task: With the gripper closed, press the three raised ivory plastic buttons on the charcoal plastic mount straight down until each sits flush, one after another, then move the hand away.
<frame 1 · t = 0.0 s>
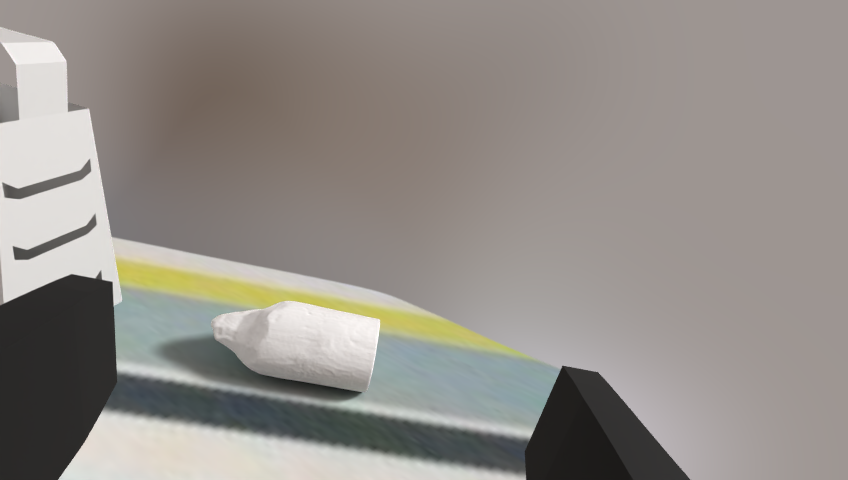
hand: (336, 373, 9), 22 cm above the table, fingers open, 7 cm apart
grater: (10, 313, 42), on the table
roll: (288, 372, 43), on the table
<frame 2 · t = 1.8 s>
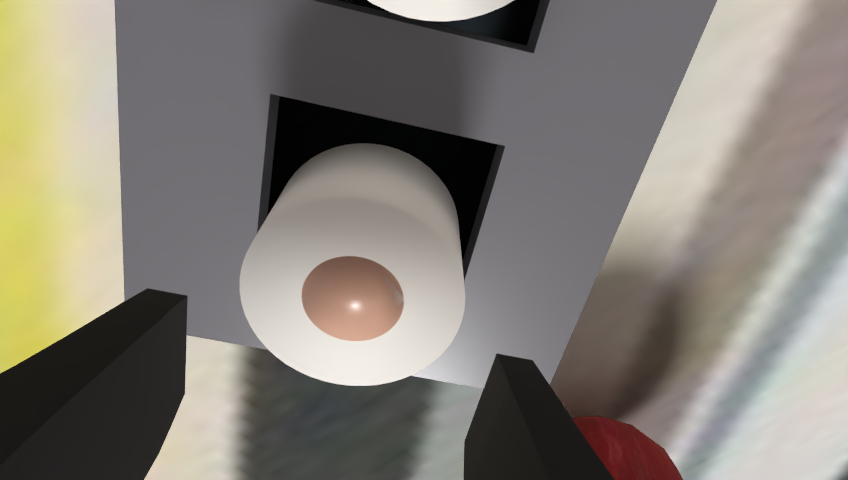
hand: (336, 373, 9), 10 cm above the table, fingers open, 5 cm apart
button 1: (361, 261, 12), point 6 cm above the table, slide at 2.5 cm
onion: (577, 422, 23), on the table
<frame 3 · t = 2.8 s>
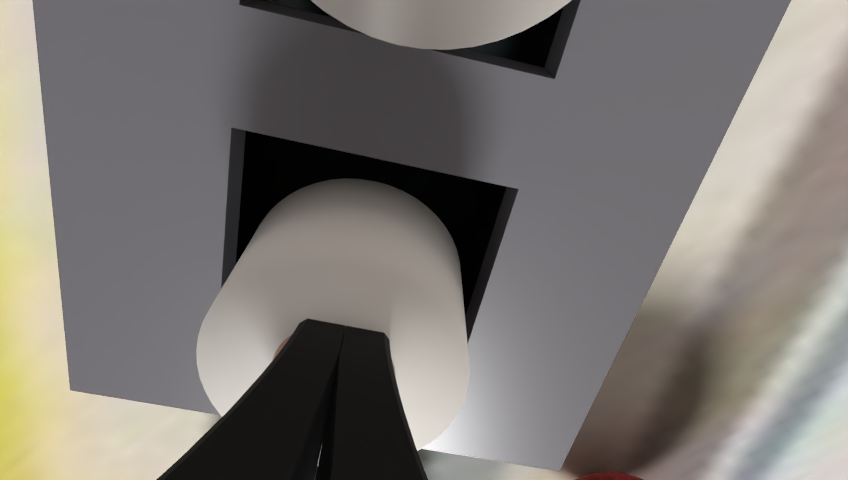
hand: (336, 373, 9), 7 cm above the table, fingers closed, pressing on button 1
button 1: (346, 319, 10), point 6 cm above the table, slide at 2.1 cm, touching gripper
onion: (591, 472, 21), on the table
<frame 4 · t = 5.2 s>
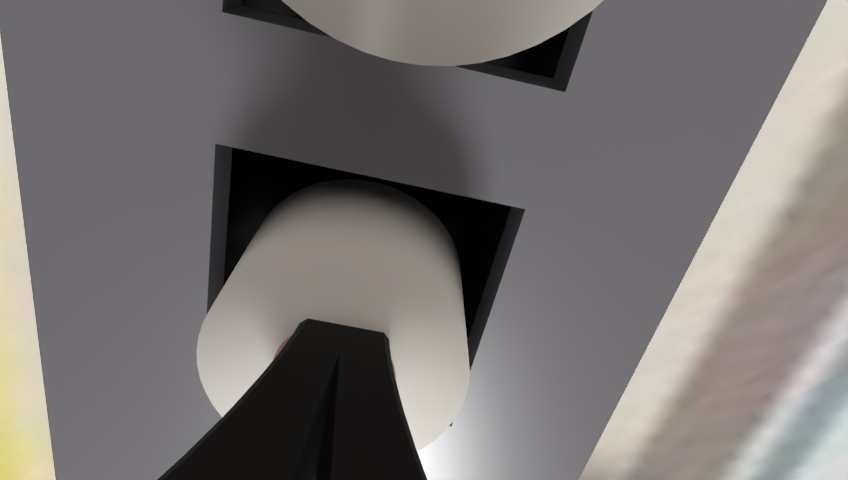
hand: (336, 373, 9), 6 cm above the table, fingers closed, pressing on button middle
button middle: (346, 319, 10), point 5 cm above the table, slide at 1.2 cm, touching gripper
mount: (371, 207, 15), on the table
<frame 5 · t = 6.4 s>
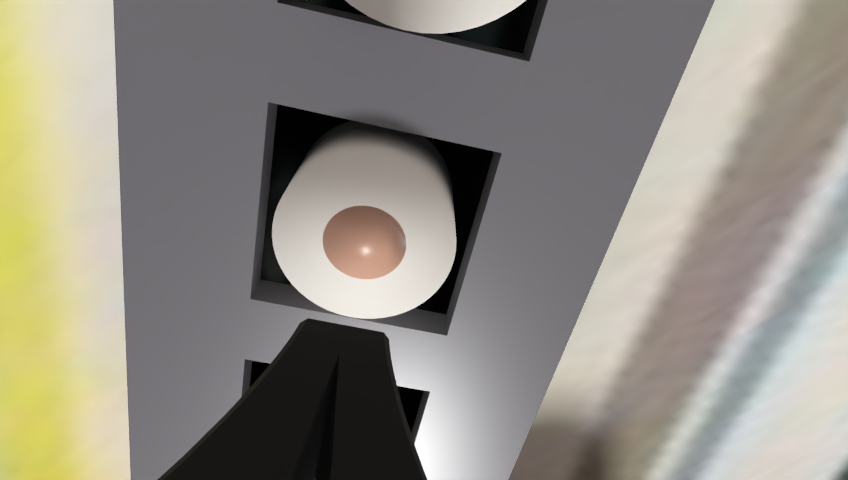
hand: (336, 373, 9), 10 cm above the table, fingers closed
button middle: (370, 216, 15), point 4 cm above the table, slide at -0.2 cm
mount: (381, 167, 18), on the table
button 1: (330, 420, 18), point 4 cm above the table, slide at -0.2 cm
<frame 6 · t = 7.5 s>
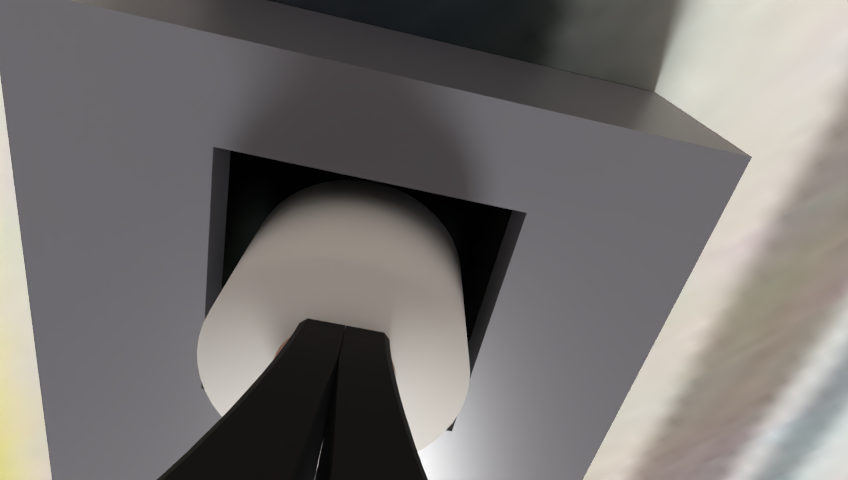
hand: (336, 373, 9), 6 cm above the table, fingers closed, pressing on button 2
button 2: (346, 320, 10), point 5 cm above the table, slide at 1.1 cm, touching gripper
mount: (330, 414, 18), on the table
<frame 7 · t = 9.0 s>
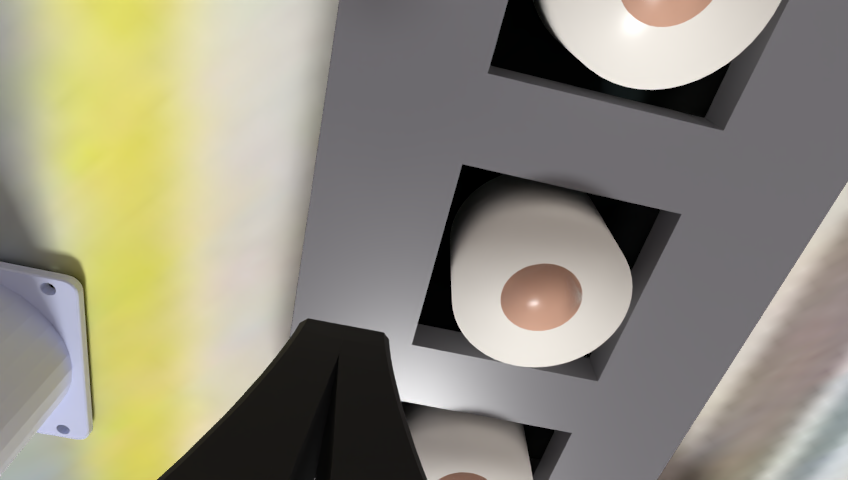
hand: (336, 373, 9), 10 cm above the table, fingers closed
button middle: (532, 266, 15), point 4 cm above the table, slide at -0.2 cm
mount: (515, 209, 18), on the table
button 1: (461, 455, 19), point 4 cm above the table, slide at -0.2 cm
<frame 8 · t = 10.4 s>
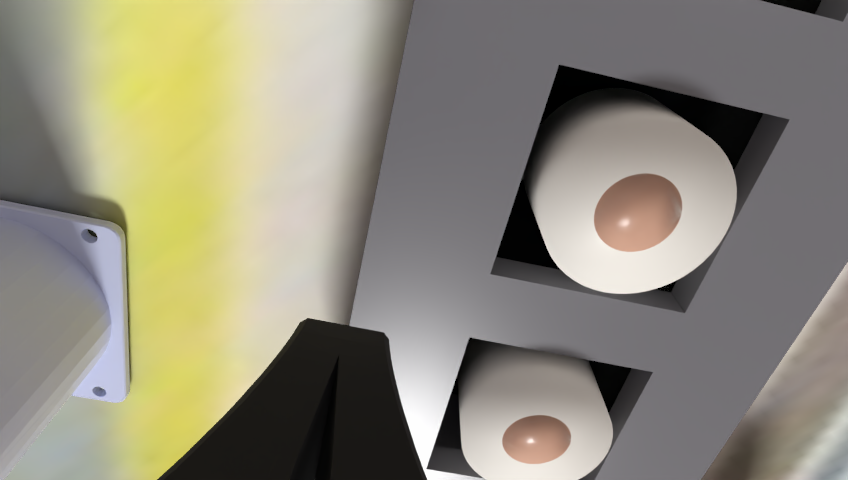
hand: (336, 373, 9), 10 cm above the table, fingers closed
button middle: (618, 188, 14), point 4 cm above the table, slide at -0.2 cm
mount: (584, 143, 17), on the table
button 1: (528, 402, 18), point 4 cm above the table, slide at -0.2 cm
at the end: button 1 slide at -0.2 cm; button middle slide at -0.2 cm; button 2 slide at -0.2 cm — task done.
